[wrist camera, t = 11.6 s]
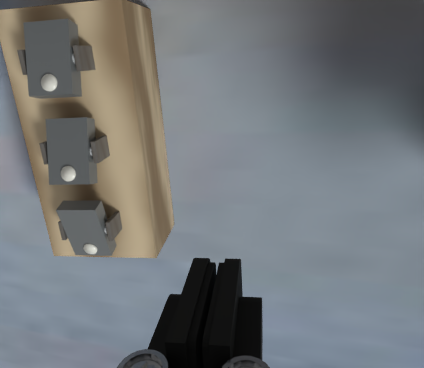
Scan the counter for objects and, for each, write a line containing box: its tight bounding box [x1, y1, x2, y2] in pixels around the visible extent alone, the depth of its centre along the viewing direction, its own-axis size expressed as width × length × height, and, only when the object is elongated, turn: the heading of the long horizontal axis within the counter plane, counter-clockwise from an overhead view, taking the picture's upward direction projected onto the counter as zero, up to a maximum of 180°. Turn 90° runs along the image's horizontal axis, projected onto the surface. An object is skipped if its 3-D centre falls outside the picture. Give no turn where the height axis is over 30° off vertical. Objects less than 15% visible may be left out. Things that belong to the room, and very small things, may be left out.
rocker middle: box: [46, 117, 98, 185], centre depth 32 cm, size 4×6×2 cm
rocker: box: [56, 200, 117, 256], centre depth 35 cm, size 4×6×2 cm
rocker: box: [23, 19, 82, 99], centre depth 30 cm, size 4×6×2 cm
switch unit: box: [0, 0, 174, 258], centre depth 37 cm, size 12×25×11 cm, turn 4°
